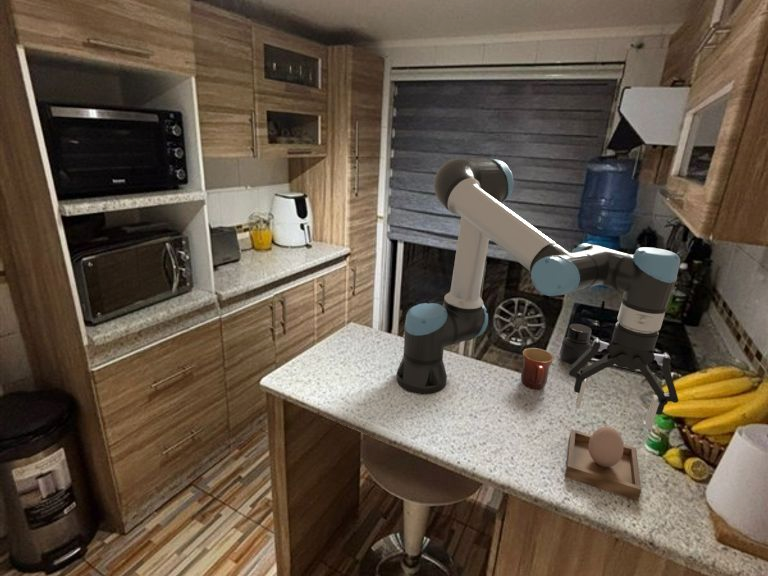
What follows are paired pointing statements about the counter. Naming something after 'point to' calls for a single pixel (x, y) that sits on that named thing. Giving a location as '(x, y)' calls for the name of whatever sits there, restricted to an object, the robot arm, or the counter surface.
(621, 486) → the tray
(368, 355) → the counter surface
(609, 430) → the egg
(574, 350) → the ink bottle
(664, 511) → the counter surface
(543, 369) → the mug
